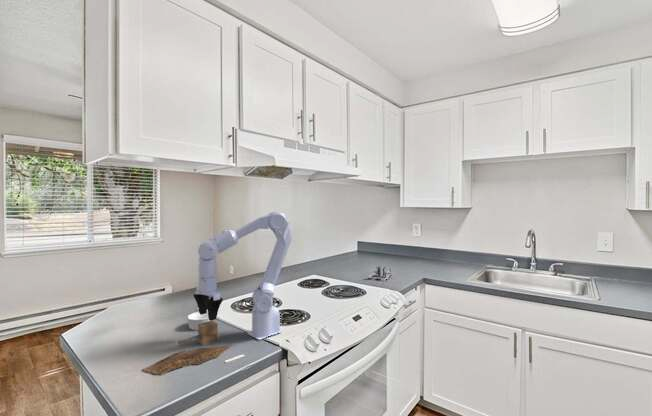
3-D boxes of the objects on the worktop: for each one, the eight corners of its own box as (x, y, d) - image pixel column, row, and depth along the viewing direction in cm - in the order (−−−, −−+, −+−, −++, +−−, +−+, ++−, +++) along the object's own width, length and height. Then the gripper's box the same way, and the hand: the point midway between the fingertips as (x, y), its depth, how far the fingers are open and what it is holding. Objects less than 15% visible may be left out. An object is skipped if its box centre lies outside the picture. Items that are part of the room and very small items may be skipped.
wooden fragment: (144, 381, 83) (144, 377, 83) (139, 364, 91) (139, 360, 91) (239, 354, 98) (239, 350, 98) (227, 341, 107) (227, 338, 107)
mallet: (212, 337, 110) (212, 320, 110) (217, 340, 107) (217, 323, 107) (176, 348, 101) (176, 329, 101) (181, 352, 99) (181, 333, 98)
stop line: (242, 354, 97) (242, 354, 97) (244, 356, 96) (244, 355, 96) (224, 361, 92) (224, 360, 92) (226, 363, 92) (226, 362, 92)
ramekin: (216, 326, 120) (216, 315, 120) (192, 333, 114) (192, 321, 113) (207, 320, 126) (207, 309, 126) (184, 326, 120) (184, 315, 120)
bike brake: (375, 273, 210) (362, 284, 193) (374, 263, 209) (361, 273, 192) (394, 276, 203) (383, 287, 186) (394, 266, 202) (382, 276, 185)
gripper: (187, 275, 109) (187, 314, 109) (205, 282, 98) (205, 325, 98) (207, 272, 114) (207, 309, 114) (226, 279, 103) (226, 320, 103)
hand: (207, 316), depth 106 cm, fingers open, 7 cm apart
